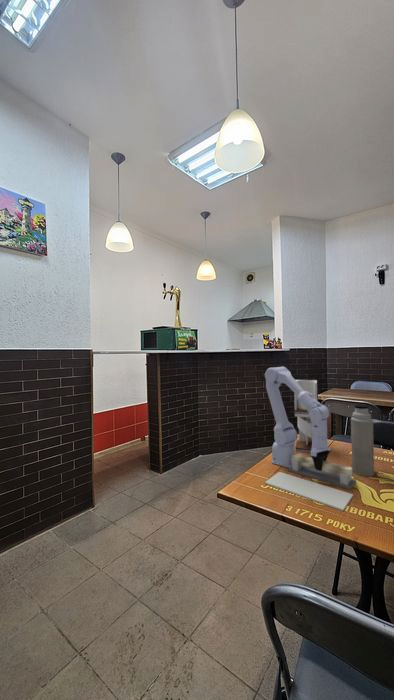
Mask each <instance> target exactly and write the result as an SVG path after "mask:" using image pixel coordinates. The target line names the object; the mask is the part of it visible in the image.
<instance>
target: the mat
mask: <svg viewBox="0 0 394 700" xmlns="http://www.w3.org/2000/svg"><path fill="white" fill-rule="evenodd" d="M264 484H265V485H268V486H269V487H272V488H273V487H274V488H277V489H279V490H281V491H285V492H287V493H291V494H293V495H296V496H299V497H301V498H304V499H308V500H310V501H314V502H315V503H319V504H322V505H325V506H327V507H330V508H332V509H336V510H338V511H341V512H344V511H345V509H346V508H347V506H348V504H349V503H350V502H351V500H352V499H353V497H354V494H353V493H349V492H347V491H344V490H340V489H337V488H333V487H330V486H327V485H324V484H321V483H317V482H313V481H312V480H311V481H310V480H308V479H304V478H301V477H298V476H294V475H291V474H288V473H284V472H282V471H279V472H277V473H276V474H274V475H273V476H271V477H270V478H269V479H267V480H266V481H265V482H264Z"/></svg>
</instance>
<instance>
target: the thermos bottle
mask: <svg viewBox="0 0 394 700" xmlns="http://www.w3.org/2000/svg"><path fill="white" fill-rule="evenodd" d="M351 416H352V417H351V418H350V437H351V439H350V440H351V442H350V443H351V468H352V473H354V474H355V475H359V476H361V477H373V476H374V475H375V458H374V457H375V455H374V454H375V453H374V448H375V447H374V419H373V418H372V414H371V413H370V412H369V406H368V405H365V404H354V411H353V412H352V415H351Z"/></svg>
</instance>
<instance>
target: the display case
mask: <svg viewBox="0 0 394 700" xmlns="http://www.w3.org/2000/svg"><path fill="white" fill-rule="evenodd" d="M295 381H296V382H297V383H298V384H299V385H300V387H301V388H302V389H303V390H304V391H308V392H309V393H312V394H313V395H312V396H313V397H314V398H315V399H316V400H317V401H318V384H317V383H318V380H317V379H312V380H311V379H310V380H309V379H295ZM293 394H294V396H293V397H294V398H293V399H294V400H293V401H294V402H293V403H294V417H295V418H296V417H297V418H296V419H297V428H298V439H297V440H296V441H295V446H294V448H295V452H298V453H304V454H305V453H306V454H310V452H311V449H312V423H311V419H310V417H309V415H308V413H309V412H308V411H307V410H306V409H305V407H304V406H303V405H302V404H301V403H300V402H299V401H298V396H297V395H296V394H295V393H294V392H293Z"/></svg>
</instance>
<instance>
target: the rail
mask: <svg viewBox="0 0 394 700" xmlns="http://www.w3.org/2000/svg"><path fill="white" fill-rule="evenodd" d="M292 460H295V461H299V464H300V465H304V466H307V467H311V468H315V465H314V461H313V459H312V457H311V456H308V455H307V456H306V455H303V454H300V453H296V452H295V453H294V454H292V455H291V462H292ZM322 471H326V472H329V473H333V474H336V475H340V473H344V474H348V478H351V479H352V477H353V471H352V466H347V465H343V464H339V463H334V462H332V461H331V462H330V461H327V460H326V461H323V465H322Z"/></svg>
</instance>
